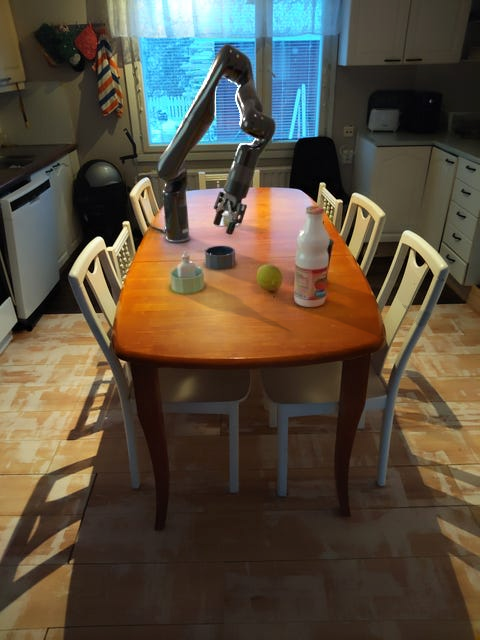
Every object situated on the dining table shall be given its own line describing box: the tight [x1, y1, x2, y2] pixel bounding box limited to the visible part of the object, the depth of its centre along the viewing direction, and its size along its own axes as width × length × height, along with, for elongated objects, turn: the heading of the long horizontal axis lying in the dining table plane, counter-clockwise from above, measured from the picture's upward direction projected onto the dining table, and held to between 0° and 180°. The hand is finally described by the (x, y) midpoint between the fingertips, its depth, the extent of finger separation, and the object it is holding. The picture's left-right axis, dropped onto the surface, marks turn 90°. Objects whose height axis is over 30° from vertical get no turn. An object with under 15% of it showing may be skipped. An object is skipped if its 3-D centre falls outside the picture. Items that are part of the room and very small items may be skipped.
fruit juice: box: [293, 205, 331, 308], centre depth 131 cm, size 9×9×28 cm
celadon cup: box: [169, 266, 205, 295], centre depth 147 cm, size 10×10×5 cm
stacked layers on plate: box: [218, 211, 239, 227], centre depth 206 cm, size 10×9×6 cm
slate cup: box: [204, 245, 236, 271], centre depth 163 cm, size 10×10×5 cm
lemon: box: [256, 263, 283, 292], centre depth 144 cm, size 11×8×8 cm
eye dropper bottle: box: [177, 250, 196, 279], centre depth 145 cm, size 4×6×12 cm
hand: (222, 229), depth 148 cm, fingers open, 8 cm apart
